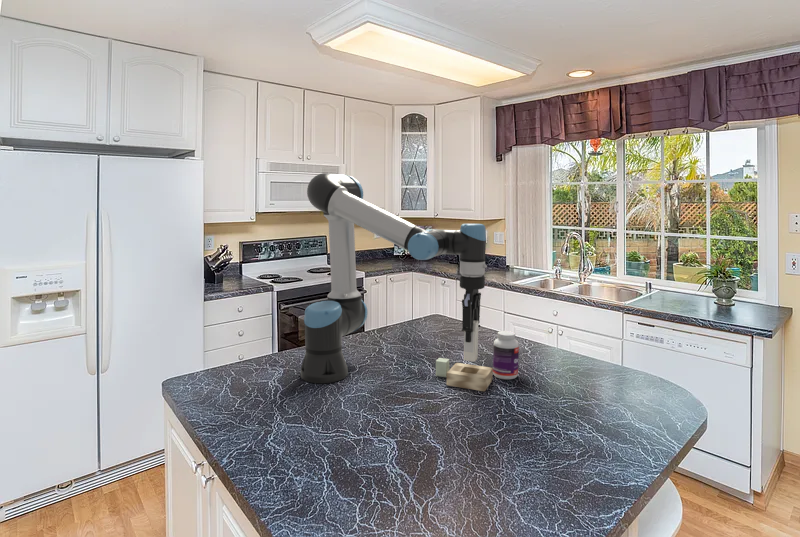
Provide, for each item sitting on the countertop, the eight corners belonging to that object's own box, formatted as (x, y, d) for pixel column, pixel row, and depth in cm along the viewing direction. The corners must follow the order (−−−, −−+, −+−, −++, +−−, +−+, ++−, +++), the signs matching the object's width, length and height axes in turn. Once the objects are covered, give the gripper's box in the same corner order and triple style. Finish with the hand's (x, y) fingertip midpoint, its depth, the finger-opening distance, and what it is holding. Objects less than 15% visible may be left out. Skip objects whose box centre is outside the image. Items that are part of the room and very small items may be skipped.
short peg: (435, 375, 156) (435, 361, 155) (439, 372, 159) (439, 357, 159) (445, 377, 155) (446, 362, 154) (449, 373, 158) (449, 359, 157)
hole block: (446, 385, 148) (446, 372, 148) (456, 374, 157) (456, 362, 157) (484, 391, 143) (485, 378, 143) (492, 379, 153) (492, 367, 152)
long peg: (463, 360, 148) (464, 322, 147) (466, 356, 152) (467, 319, 150) (474, 361, 147) (475, 323, 145) (477, 358, 150) (478, 320, 148)
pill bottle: (518, 381, 151) (520, 337, 149) (492, 379, 153) (493, 335, 151) (517, 372, 159) (519, 330, 157) (492, 370, 161) (493, 328, 158)
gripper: (477, 280, 136) (475, 359, 140) (490, 271, 151) (488, 343, 155) (452, 278, 139) (450, 356, 143) (467, 270, 154) (466, 341, 158)
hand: (470, 349), depth 149 cm, fingers closed on long peg, 3 cm apart
